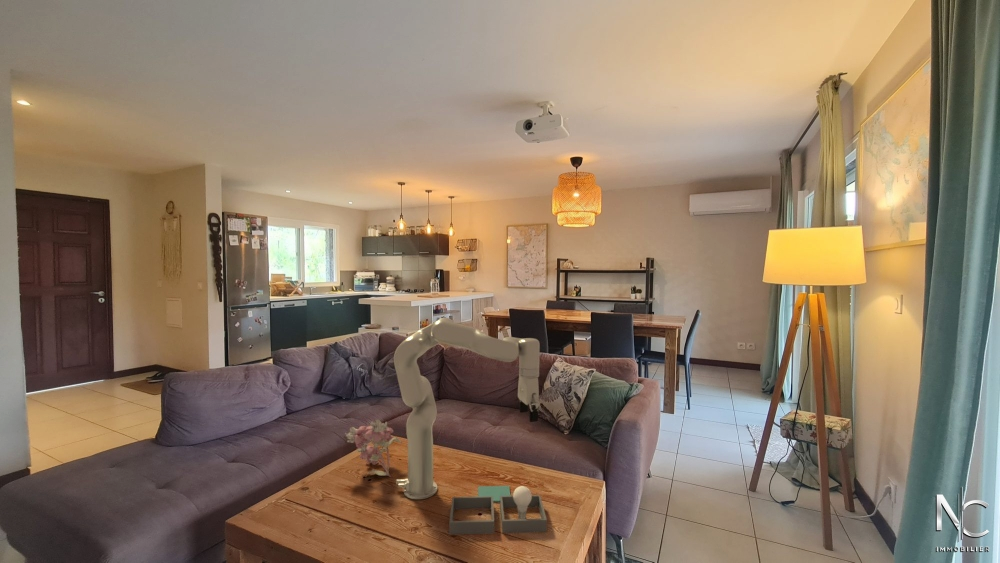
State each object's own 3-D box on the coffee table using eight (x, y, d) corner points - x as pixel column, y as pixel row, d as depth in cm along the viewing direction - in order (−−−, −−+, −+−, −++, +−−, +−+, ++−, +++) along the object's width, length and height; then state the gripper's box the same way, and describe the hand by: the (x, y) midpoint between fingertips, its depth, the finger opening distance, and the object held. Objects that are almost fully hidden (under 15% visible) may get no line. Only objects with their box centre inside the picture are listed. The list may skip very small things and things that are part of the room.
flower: (418, 456, 183) (396, 403, 185) (401, 476, 160) (376, 417, 163) (378, 474, 184) (356, 421, 186) (356, 497, 162) (331, 437, 164)
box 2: (502, 533, 133) (502, 521, 133) (500, 506, 147) (500, 495, 147) (546, 531, 134) (546, 519, 134) (540, 505, 148) (540, 495, 148)
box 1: (449, 534, 132) (449, 522, 132) (452, 508, 147) (452, 497, 146) (494, 533, 133) (494, 521, 133) (492, 507, 147) (492, 496, 147)
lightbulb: (511, 513, 144) (512, 482, 143) (529, 512, 144) (530, 482, 144) (514, 525, 137) (514, 492, 137) (532, 524, 138) (533, 492, 137)
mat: (478, 502, 150) (478, 501, 150) (478, 487, 160) (478, 486, 160) (511, 502, 150) (511, 500, 150) (509, 487, 160) (509, 485, 160)
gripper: (511, 366, 162) (511, 409, 162) (528, 378, 145) (528, 426, 146) (529, 365, 164) (528, 407, 165) (548, 377, 148) (547, 424, 148)
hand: (528, 416), depth 155 cm, fingers open, 9 cm apart
